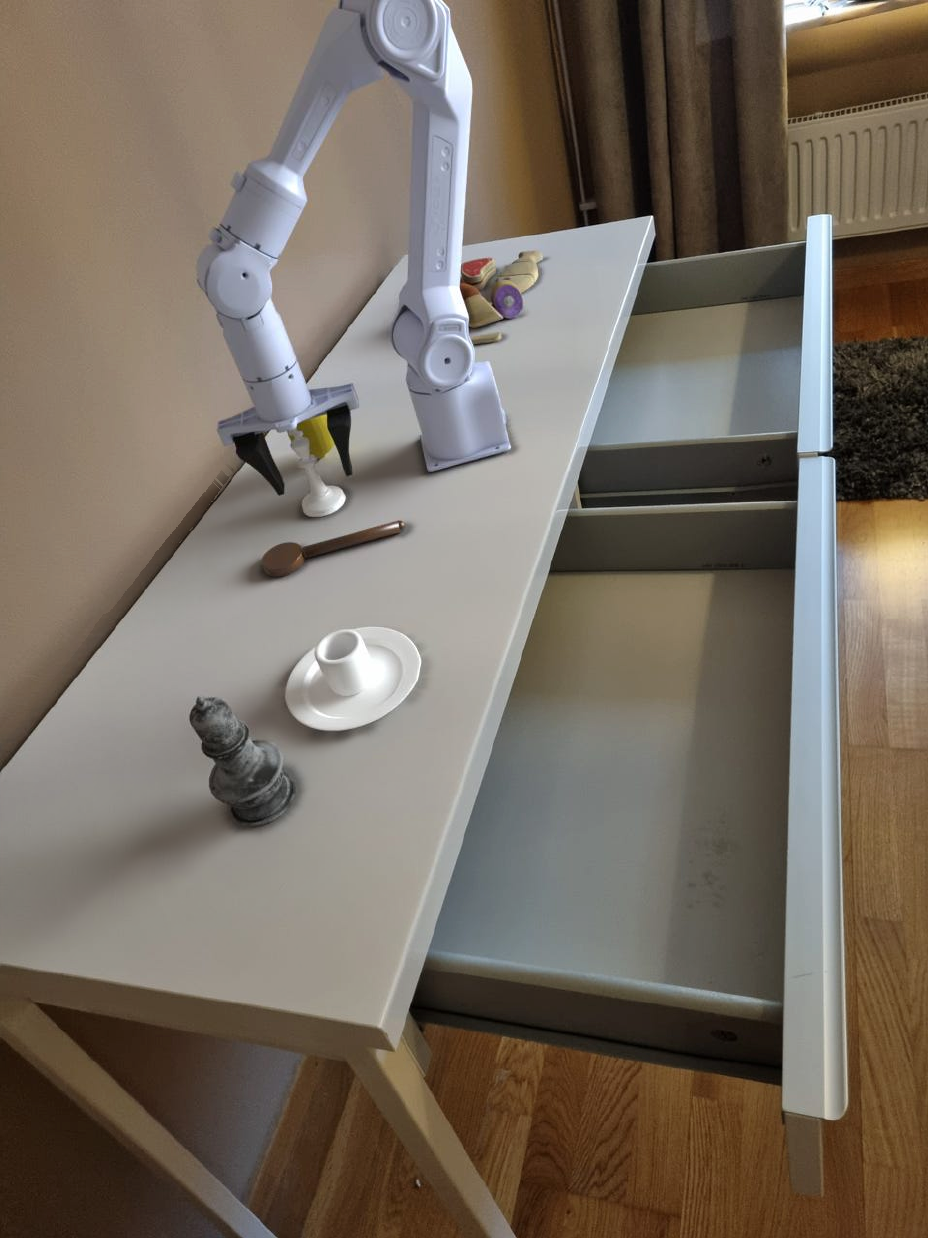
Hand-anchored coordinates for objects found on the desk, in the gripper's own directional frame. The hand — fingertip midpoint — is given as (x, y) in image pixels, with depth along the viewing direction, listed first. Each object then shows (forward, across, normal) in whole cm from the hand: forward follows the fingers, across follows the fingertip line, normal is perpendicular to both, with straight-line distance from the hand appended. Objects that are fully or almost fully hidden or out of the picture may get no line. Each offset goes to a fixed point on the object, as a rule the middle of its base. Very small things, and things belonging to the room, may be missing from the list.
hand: (315, 480), depth 96 cm
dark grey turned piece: (+3, -6, -39) cm, 40 cm away
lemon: (+3, 0, +10) cm, 11 cm away
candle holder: (+3, +2, -29) cm, 29 cm away
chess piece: (+3, 0, 0) cm, 3 cm away
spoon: (+3, 0, -9) cm, 10 cm away
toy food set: (+3, +24, +41) cm, 48 cm away
